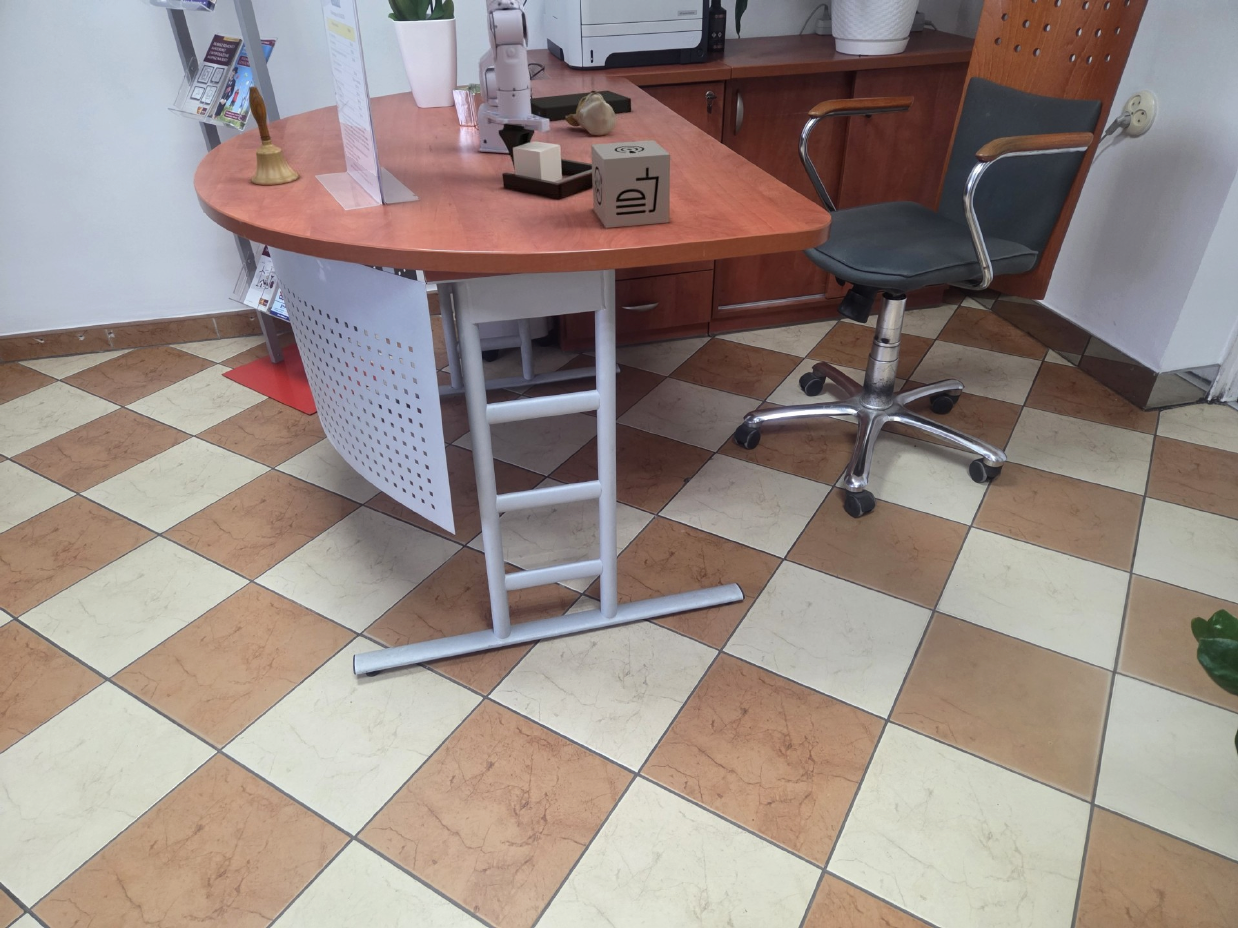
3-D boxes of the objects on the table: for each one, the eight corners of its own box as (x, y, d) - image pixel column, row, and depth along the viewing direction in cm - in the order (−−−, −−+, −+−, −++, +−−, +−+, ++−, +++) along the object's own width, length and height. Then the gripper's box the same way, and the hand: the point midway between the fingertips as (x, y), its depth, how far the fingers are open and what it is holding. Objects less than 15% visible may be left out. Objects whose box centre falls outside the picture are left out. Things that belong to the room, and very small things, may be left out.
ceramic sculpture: (578, 95, 168) (560, 89, 180) (580, 139, 172) (563, 130, 185) (626, 92, 171) (605, 86, 183) (627, 135, 175) (607, 127, 187)
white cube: (515, 182, 145) (512, 147, 141) (536, 175, 149) (533, 141, 146) (542, 187, 142) (539, 151, 139) (562, 179, 146) (560, 145, 143)
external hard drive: (631, 111, 198) (630, 98, 196) (543, 122, 190) (542, 108, 188) (607, 103, 209) (607, 90, 207) (523, 112, 201) (522, 99, 199)
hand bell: (307, 175, 153) (286, 83, 144) (279, 186, 146) (255, 91, 137) (272, 172, 155) (249, 82, 146) (242, 183, 149) (216, 90, 140)
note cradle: (503, 188, 142) (501, 172, 140) (556, 171, 151) (555, 156, 150) (558, 200, 135) (557, 183, 134) (610, 181, 144) (610, 165, 143)
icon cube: (669, 222, 124) (670, 154, 118) (605, 228, 122) (603, 159, 116) (653, 204, 132) (653, 140, 126) (593, 209, 130) (591, 144, 124)
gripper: (467, 88, 141) (476, 168, 148) (527, 95, 133) (533, 179, 141) (496, 82, 145) (503, 160, 153) (555, 89, 138) (560, 171, 145)
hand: (520, 169), depth 147 cm, fingers closed
